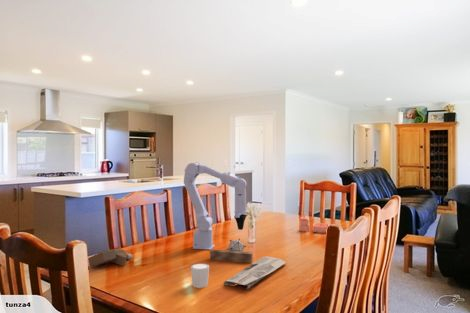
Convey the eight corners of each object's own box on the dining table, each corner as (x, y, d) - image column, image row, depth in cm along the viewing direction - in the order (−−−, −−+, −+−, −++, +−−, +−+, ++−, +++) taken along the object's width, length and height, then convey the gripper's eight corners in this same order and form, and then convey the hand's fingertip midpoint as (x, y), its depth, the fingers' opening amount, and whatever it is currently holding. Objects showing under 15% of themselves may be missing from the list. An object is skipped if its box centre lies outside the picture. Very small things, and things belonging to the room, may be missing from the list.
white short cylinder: (191, 281, 130) (191, 263, 130) (209, 281, 130) (209, 262, 130) (190, 289, 123) (190, 269, 123) (209, 288, 123) (209, 269, 123)
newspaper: (262, 260, 156) (262, 252, 156) (288, 265, 150) (288, 257, 150) (221, 287, 125) (221, 277, 125) (252, 294, 119) (252, 284, 119)
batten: (210, 259, 156) (210, 251, 156) (211, 258, 158) (211, 249, 158) (251, 263, 151) (251, 254, 151) (252, 261, 153) (252, 252, 153)
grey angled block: (137, 268, 154) (104, 274, 138) (118, 259, 161) (84, 264, 146) (141, 251, 154) (107, 256, 139) (121, 243, 161) (87, 247, 146)
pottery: (328, 230, 214) (329, 214, 214) (328, 233, 205) (328, 217, 205) (299, 228, 219) (299, 213, 219) (298, 232, 210) (298, 216, 210)
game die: (239, 264, 160) (244, 251, 154) (222, 257, 161) (227, 244, 155) (243, 250, 167) (249, 237, 162) (228, 244, 168) (233, 231, 162)
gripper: (245, 205, 165) (245, 233, 165) (251, 200, 179) (251, 226, 179) (231, 204, 166) (231, 232, 167) (238, 200, 180) (238, 225, 181)
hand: (240, 229), depth 173 cm, fingers closed
